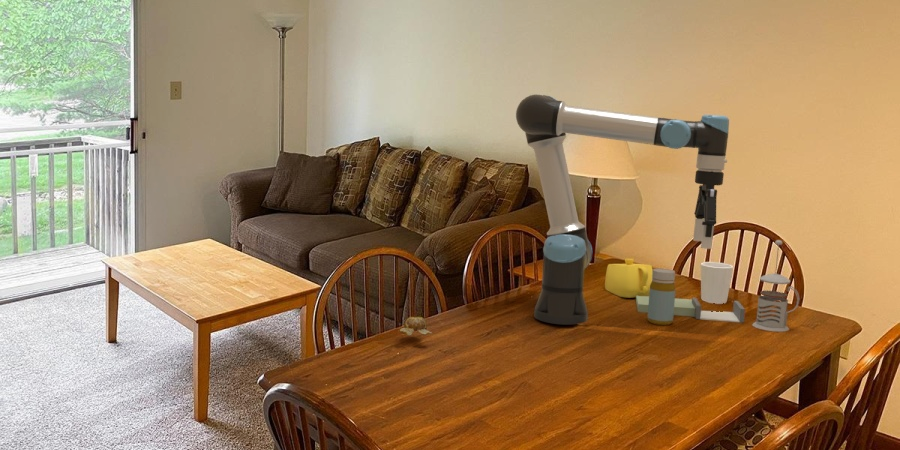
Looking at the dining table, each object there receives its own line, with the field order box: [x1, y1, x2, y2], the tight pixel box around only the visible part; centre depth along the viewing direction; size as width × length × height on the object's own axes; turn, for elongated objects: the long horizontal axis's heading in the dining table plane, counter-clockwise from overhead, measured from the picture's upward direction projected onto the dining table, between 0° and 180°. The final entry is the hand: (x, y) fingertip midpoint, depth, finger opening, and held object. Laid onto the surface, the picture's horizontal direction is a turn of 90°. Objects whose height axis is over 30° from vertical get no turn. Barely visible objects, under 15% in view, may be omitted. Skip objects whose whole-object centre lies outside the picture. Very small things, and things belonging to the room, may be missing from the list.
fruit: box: [399, 316, 433, 336], centre depth 204 cm, size 8×8×4 cm
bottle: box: [647, 268, 676, 326], centre depth 224 cm, size 7×7×15 cm
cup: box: [700, 261, 734, 305], centre depth 249 cm, size 10×10×13 cm
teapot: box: [604, 258, 653, 299], centre depth 255 cm, size 20×12×12 cm, turn 22°
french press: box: [751, 239, 801, 333], centre depth 222 cm, size 10×12×25 cm
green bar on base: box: [635, 296, 746, 324], centre depth 237 cm, size 30×15×4 cm, turn 80°
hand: (701, 244), depth 225 cm, fingers open, 13 cm apart
